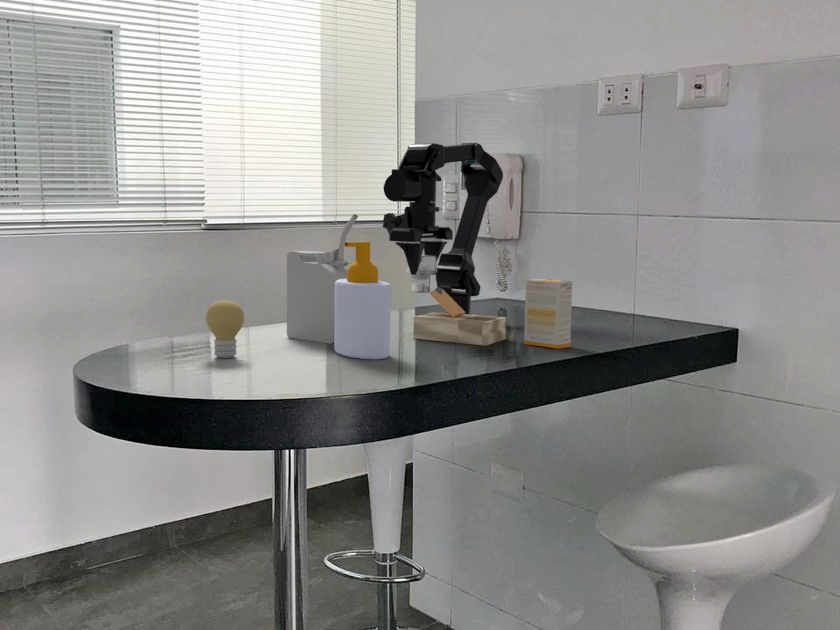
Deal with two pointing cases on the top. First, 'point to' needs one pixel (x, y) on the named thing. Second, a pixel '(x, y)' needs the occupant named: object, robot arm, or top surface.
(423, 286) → the silver metal cylinder
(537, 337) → the supplement box
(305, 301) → the fuel canister
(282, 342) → the top surface
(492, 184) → the robot arm
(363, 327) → the soap bottle
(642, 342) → the top surface
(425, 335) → the block
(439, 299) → the orange knobbed panel
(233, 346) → the light bulb
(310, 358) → the top surface
